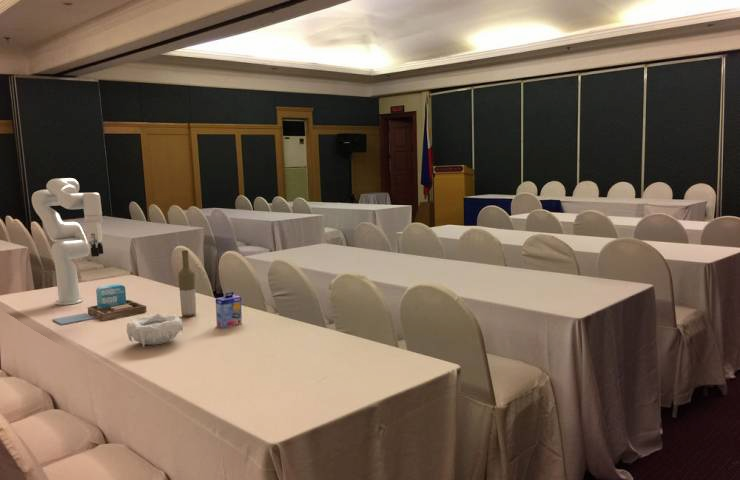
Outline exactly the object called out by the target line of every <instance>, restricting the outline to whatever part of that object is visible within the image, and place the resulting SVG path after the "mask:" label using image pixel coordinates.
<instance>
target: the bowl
mask: <svg viewBox="0 0 740 480" xmlns="http://www.w3.org/2000/svg"><path fill="white" fill-rule="evenodd" d="M183 330H184V325H183V319H182V318H179V317H178V315H174V314H173V313H170V314H162V313H156V314H152V315H149V316H141V317H140V316H137V317H136V318H134V319H132V320H131V321H129V322H128V323H127V324H126V333H127V337H128V340H129V342H131V343H133V340H134V341H135V342H138V343H139V344H141V345H142V347H143V348H145V345H149V346H150V345H152V346H155V345H158V346H159V345H162V344H165V343H168V342H170V341H172V340H173V339H174V338H175V337H177V335H178V334H179V333H180V332H183Z"/></svg>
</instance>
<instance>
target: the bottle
mask: <svg viewBox="0 0 740 480" xmlns="http://www.w3.org/2000/svg"><path fill="white" fill-rule="evenodd" d="M181 258H182V268H181V269H180V270H179V272H178V273H177V274H178V285H179V286H178V287H179V298H180V310H181V316H182V317H185V318H190V316H191V317H195V316H196V314H197V302H196V300H197V298H196V281H195V280H196V278H195V276H196V275H195V271H194V270H193V269H192V268H190V264H189V250H187V249H185V250H181Z"/></svg>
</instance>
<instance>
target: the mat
mask: <svg viewBox="0 0 740 480" xmlns="http://www.w3.org/2000/svg"><path fill="white" fill-rule="evenodd" d="M95 319H96V317H95V316H93V315H91V314H89V313H86V312H84V313H80V314H72V315H68V316H63V317H57V318H53V319H51V320H52V321H53V322H54V323H57V324H58V325H60V326H66V325H71V324H77V323H80V322H85V321H91V320H95Z"/></svg>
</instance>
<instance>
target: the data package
mask: <svg viewBox="0 0 740 480" xmlns="http://www.w3.org/2000/svg"><path fill="white" fill-rule="evenodd" d="M95 290H96V292H95V293H96V295H95V296H96V303H97V306H98V309H99V308H105V307H110V306H116V305H121V304H126V300H127V295H126V294H127V293H126V287H125V285H123V284H120V283H117V284H110V285H103V286H99V287H96V289H95Z"/></svg>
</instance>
